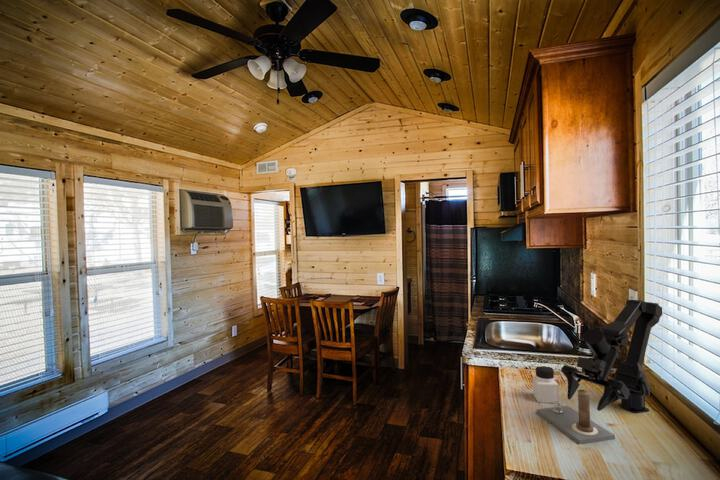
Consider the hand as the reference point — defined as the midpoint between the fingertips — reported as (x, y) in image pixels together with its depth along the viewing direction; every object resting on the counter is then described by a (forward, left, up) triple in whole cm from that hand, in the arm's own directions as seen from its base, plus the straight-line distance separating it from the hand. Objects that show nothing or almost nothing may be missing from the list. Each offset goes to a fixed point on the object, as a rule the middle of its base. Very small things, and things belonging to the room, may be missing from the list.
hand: (582, 404), depth 116 cm
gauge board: (-1, -5, -9) cm, 11 cm away
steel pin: (-1, -12, -8) cm, 15 cm away
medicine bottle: (-5, -24, -9) cm, 26 cm away
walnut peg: (-1, 0, -8) cm, 8 cm away
